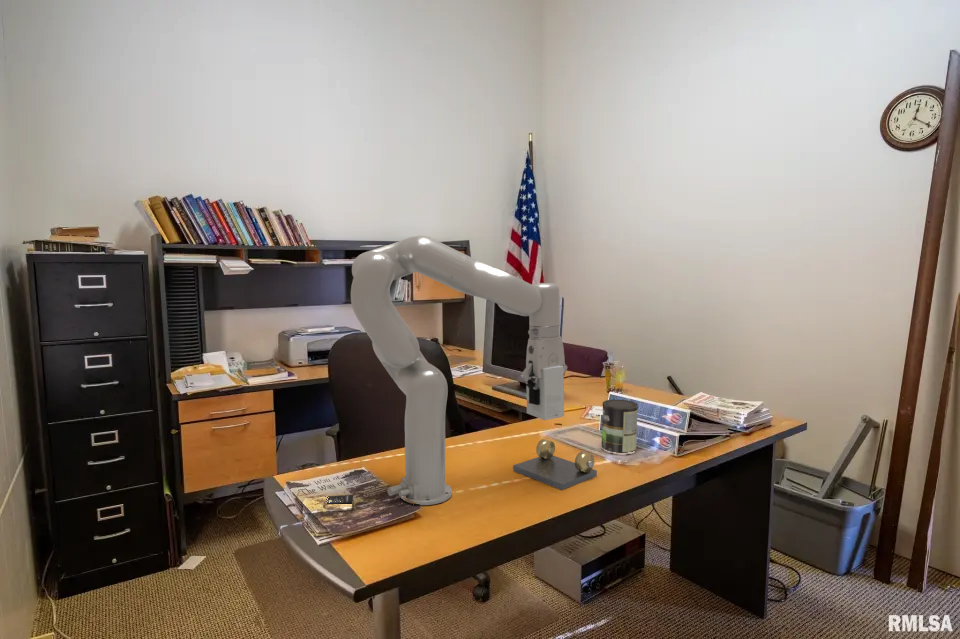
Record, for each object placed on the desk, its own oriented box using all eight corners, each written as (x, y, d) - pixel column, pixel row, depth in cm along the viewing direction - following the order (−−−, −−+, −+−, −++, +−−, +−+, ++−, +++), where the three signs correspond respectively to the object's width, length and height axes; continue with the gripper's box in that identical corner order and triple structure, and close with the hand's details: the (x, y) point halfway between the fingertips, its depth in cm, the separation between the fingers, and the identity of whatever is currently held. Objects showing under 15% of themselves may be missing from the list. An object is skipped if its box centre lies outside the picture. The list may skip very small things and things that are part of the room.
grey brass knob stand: (563, 490, 139) (563, 465, 138) (511, 470, 152) (511, 446, 152) (598, 476, 148) (599, 452, 148) (546, 458, 162) (547, 436, 161)
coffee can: (604, 455, 165) (605, 407, 163) (598, 443, 175) (599, 399, 173) (640, 456, 164) (642, 408, 163) (632, 444, 174) (633, 399, 173)
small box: (564, 417, 143) (564, 366, 142) (544, 421, 140) (543, 369, 139) (546, 409, 151) (545, 361, 149) (525, 413, 148) (525, 363, 146)
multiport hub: (304, 506, 130) (304, 497, 130) (353, 503, 132) (353, 494, 132) (301, 515, 126) (301, 505, 126) (352, 512, 128) (352, 502, 127)
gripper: (530, 337, 135) (531, 410, 137) (578, 330, 146) (578, 397, 148) (509, 334, 140) (510, 404, 142) (556, 327, 152) (556, 392, 154)
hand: (545, 400), depth 145 cm, fingers closed on small box, 7 cm apart
